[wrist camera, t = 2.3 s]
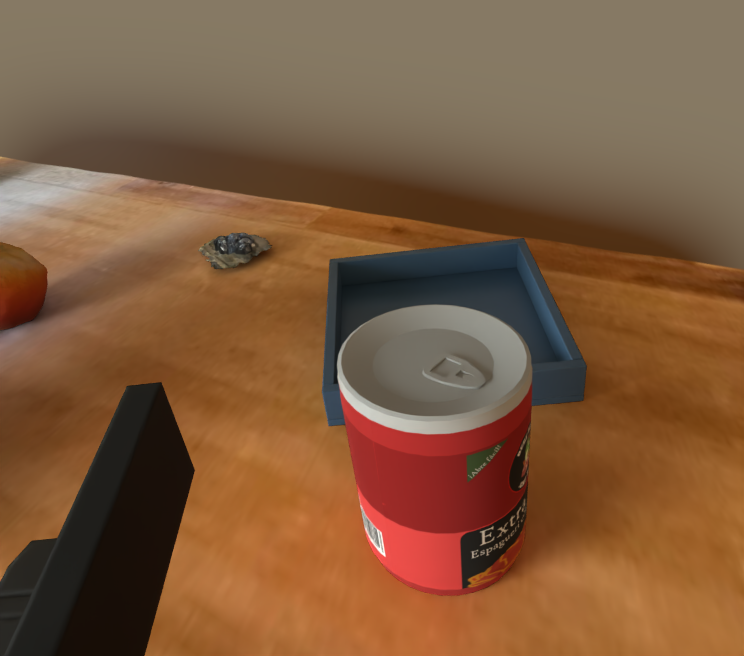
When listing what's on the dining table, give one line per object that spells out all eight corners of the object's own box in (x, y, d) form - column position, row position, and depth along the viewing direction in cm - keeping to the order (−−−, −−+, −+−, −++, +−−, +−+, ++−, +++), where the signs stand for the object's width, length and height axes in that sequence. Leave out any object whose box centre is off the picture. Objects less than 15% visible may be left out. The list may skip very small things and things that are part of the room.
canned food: (498, 627, 28) (499, 443, 21) (337, 566, 31) (297, 391, 25) (544, 496, 33) (555, 319, 27) (402, 456, 36) (383, 290, 30)
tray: (334, 288, 53) (329, 259, 51) (523, 267, 52) (524, 237, 51) (328, 426, 39) (322, 392, 38) (583, 401, 39) (587, 365, 37)
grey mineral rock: (233, 280, 56) (228, 260, 55) (175, 260, 60) (170, 242, 59) (287, 246, 60) (283, 228, 59) (229, 230, 64) (224, 212, 63)
